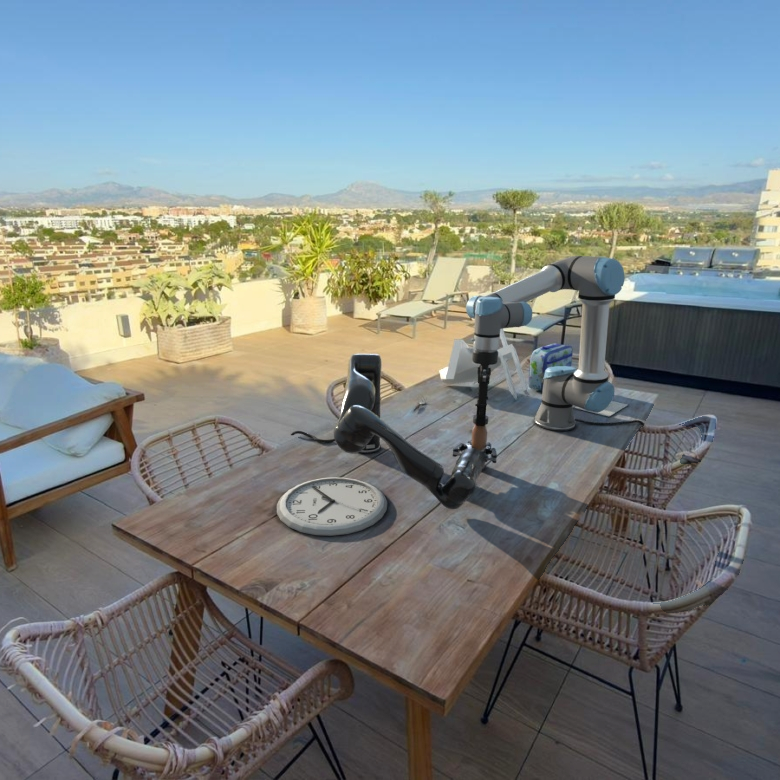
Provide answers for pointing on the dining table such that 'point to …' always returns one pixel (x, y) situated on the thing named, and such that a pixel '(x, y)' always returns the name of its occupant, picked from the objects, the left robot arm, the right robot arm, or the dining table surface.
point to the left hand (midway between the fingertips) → (480, 443)
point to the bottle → (479, 437)
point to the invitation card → (609, 408)
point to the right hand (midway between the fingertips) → (480, 422)
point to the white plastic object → (467, 370)
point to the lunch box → (547, 362)
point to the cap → (475, 419)
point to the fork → (420, 403)
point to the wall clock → (331, 506)
